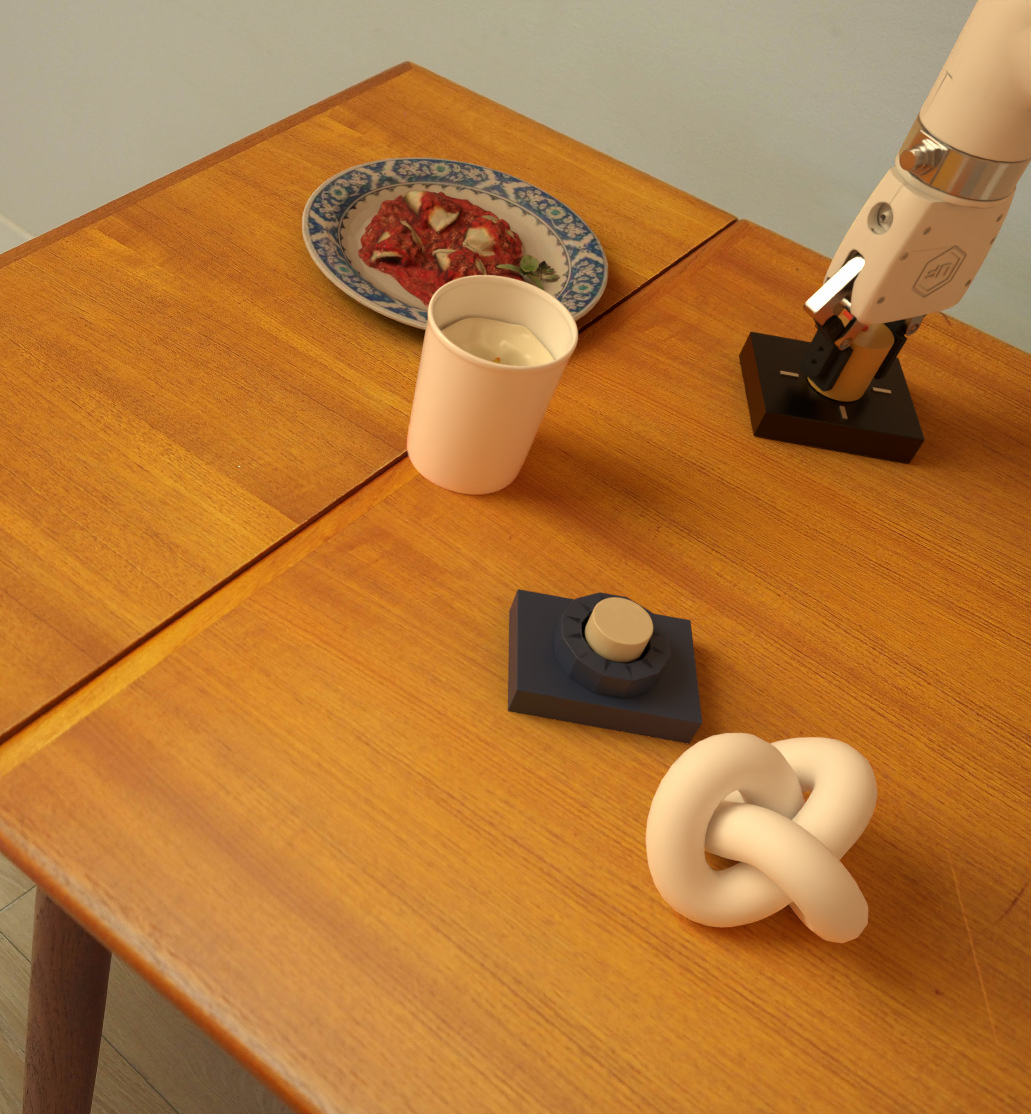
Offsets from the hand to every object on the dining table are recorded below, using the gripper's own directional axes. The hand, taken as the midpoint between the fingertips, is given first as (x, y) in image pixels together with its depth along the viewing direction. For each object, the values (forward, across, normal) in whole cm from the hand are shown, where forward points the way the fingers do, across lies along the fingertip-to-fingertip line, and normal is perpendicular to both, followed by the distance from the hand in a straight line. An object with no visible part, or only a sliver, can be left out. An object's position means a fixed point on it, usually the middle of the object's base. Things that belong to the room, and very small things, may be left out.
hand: (841, 371), depth 96 cm
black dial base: (+4, 0, 0) cm, 4 cm away
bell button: (0, -32, -17) cm, 36 cm away
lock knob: (+1, 0, 0) cm, 1 cm away
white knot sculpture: (+4, -33, -31) cm, 45 cm away
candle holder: (+4, -31, +3) cm, 31 cm away
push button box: (+4, -32, -17) cm, 37 cm away
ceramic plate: (+4, -20, +25) cm, 32 cm away
